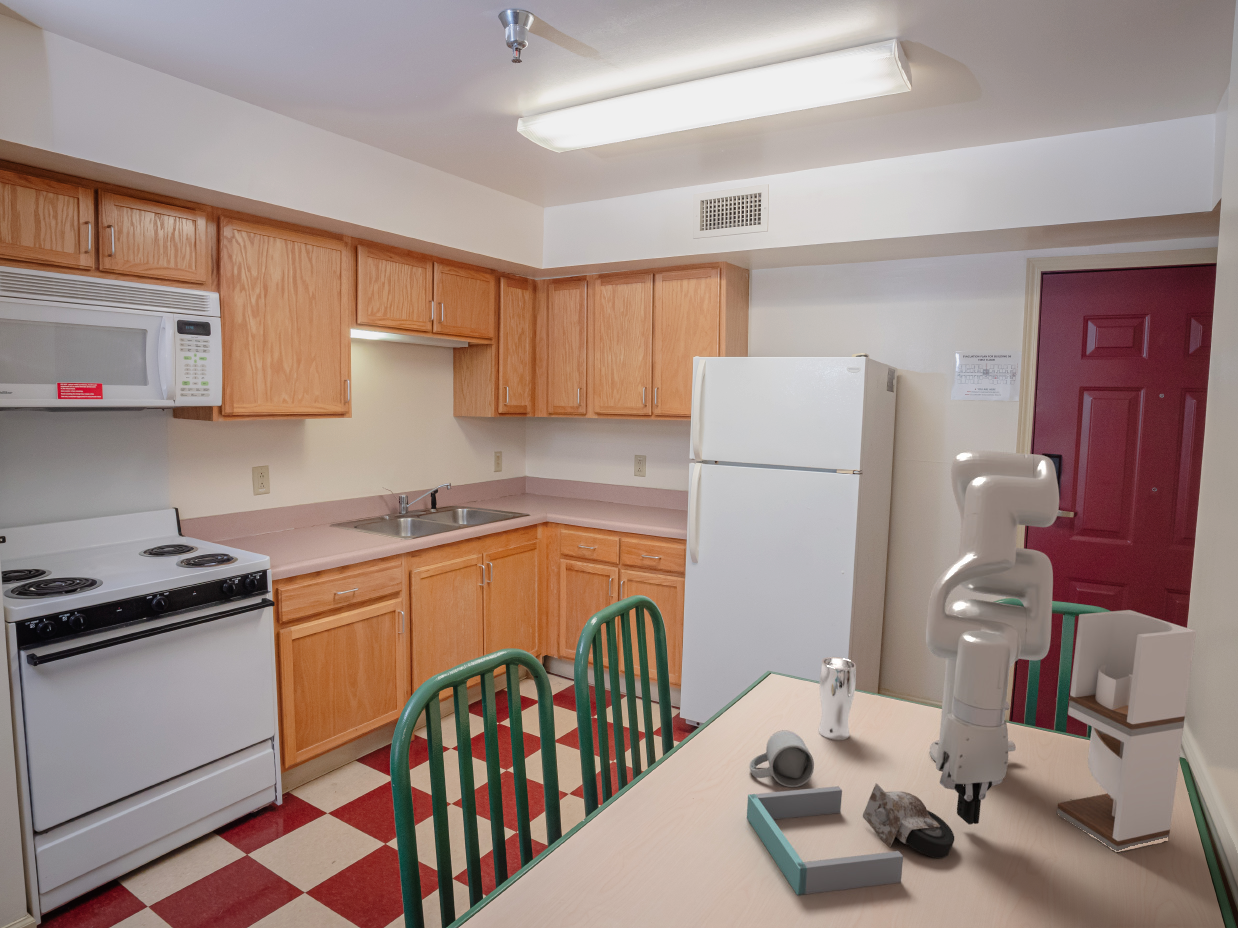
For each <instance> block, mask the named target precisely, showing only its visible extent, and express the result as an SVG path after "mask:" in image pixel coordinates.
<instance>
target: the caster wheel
mask: <svg viewBox="0 0 1238 928" xmlns="http://www.w3.org/2000/svg"><path fill="white" fill-rule="evenodd" d="M862 819H863V820H864V821H866V823H867V824H868V825H869V826H870V827H871V829H873V831H874V832H875V834H877V835H878V836H879V838H880V839H881V840H882V841H883V843H885V844H886V846H887V847H888V848H892V845H893V843H894V840H895V838H897V839H898V840H899V841H900V842H901V843H903V844H905V845H908V846H910V848H913V849H914V850H915V851H918V852H919V853H921V854H923V855H925V856H928V857H931V858H934V859H935V858H936V859H939V858H941V859H943V858H945V857H947V856H948V855H949V853H950V852H951V849H952V847H953V845H954V842H955V833H954V832H953V830H952V829H951V827H950V826H949V825H948V823H947V822H945V821H944V820H943V819H942V818H941V817H940V816H938V815H937V814H935V813H934V812H932V811H930V810H928V809H927V807H926V806H925V803H924V802H923V801H922V800H921V799H920V798H919V797H917V796H916V795H914V794H912V793H910V792H906V791H902V790H901V791H899V790H893V791H885V790H884V789H883V788H882V787H881V786H880V785H879V784H878V783H875V785H874V787H873V790H872V791H871V794H870V797H869V798H868V801H867V803H866V806H865V808H864V811H863V813H862Z"/></svg>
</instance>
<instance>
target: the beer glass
mask: <svg viewBox="0 0 1238 928" xmlns="http://www.w3.org/2000/svg"><path fill="white" fill-rule="evenodd" d="M856 667H857V664H856V663H855V662H854V661H852V660H850V659H848V658H844V657H837V656H829V657H825V658H823V659H822V661H821V667H820V668H821V669H820V675H819V696H820V697H819V698H820V706H821V707H820V708H821V717H820V721H819V722H820V723H819V726H818V733H819V734H820V735H821V736H822V737H824V738H826V739H829V740H834V741H843V740H847V739H848V738H849V737H850V728H849V717H850V711H851V708H852V705H853V700H854V697H855V691H856V679H857V677H856V676H857V675H856V674H857V672H856V670H857V669H856Z"/></svg>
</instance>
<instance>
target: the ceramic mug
mask: <svg viewBox="0 0 1238 928" xmlns="http://www.w3.org/2000/svg"><path fill="white" fill-rule="evenodd" d="M765 749H766V750H765V752H763V753H761V754H760V755H757V756H755V757H753V759H752V760H751V761H750V762H749V770H750V772H751V775H752V776H753V777H754V778H758V779H763V778H770V777H773V779H774V780H775V781H776V782H777V783H778V784H780V785H782V786H783V787H787V788H798V787H801V786H803V785H805V784H806V783H807V782H809V781H810V779H811V778H812V776H813V773H814V770H815V769H814V768H815V762H814V757H813V756H812V753H811V752H810V751H809V748H808V747H807V745H806V744H805V742H804V740H803V739H802V738H801V737H800V736H799V735H798V734H797V733H796V732H794V731H791V730H788V729H787V730H785V729H784V730H783V729H782V730H779V731H776V732H774V733H773V734H772V735H770V737H769V739H768V740H767V742H766V747H765ZM767 761H768V764H769V767H766V768H760V769H757V767H758V766H760V765H761V764H762V763H765V762H767Z"/></svg>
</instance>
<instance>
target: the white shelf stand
mask: <svg viewBox="0 0 1238 928" xmlns="http://www.w3.org/2000/svg"><path fill="white" fill-rule="evenodd" d="M1196 636H1197V630H1194V629H1190V628H1188V627H1185V626H1181V625H1178V624H1175V623H1171V622H1169V621H1165V620H1162V619H1159V618H1157V617H1156V618H1155V617H1153V616H1150V615H1146V614H1143V613H1141V612H1137V611H1136V610H1131V609H1126V610H1125V609H1123V610H1113V611H1103V612H1094V613H1093V612H1091V613H1081V614H1080V613H1079V615H1078V622H1077V629H1076V640H1075V647H1074V648H1075V649H1074V658H1073V667H1072V674H1071V682H1070V695H1069V702H1068V709H1067V710H1068V711H1067V715H1068V716H1070V717H1072V718H1074V719H1076V720H1078V721H1079V722H1082V723H1084V724H1086V725H1088V726H1091V732H1090V741H1089V749H1088V750H1089V751H1088V757H1087V766H1088V769H1089V772H1090V774H1091V776H1092V778H1093V779H1094V781H1095V782H1096V783H1097V784H1098V785H1099V787H1100V788H1101V789H1102V790H1103V791H1105V793H1103V794H1097V795H1093V796H1087V797H1082V798H1076V799H1073V800H1068V801H1062V802H1058V803H1057V806H1056V807H1057V809H1056V815H1057V814H1059V815H1060V816H1061V817H1063V818H1065V819H1066V820H1068V821H1069V822H1071V823H1073V824H1074V825H1076V826H1077V827H1079V828H1081V829H1082V830H1084V831H1086V832H1087V833H1089V834H1091V835H1093V836H1094V837H1096V838H1097V839H1099V840H1100V841H1102V842H1103V843H1105V844H1106V845H1107V846H1109V847H1111V848H1112V849H1114V850H1116V851H1119V850H1122V849H1125V848H1128V847H1130V846H1135V845H1138V844H1143V843H1148V842H1151V841H1155V840H1159V839H1163V838H1167V837H1169V838H1170V832H1171V825H1172V817H1173V811H1174V809H1173V808H1174V803H1175V795H1176V788H1177V787H1176V786H1177V781H1178V780H1177V779H1178V778H1177V777H1178V772H1179V764H1180V759H1181V758H1180V757H1181V749H1182V742H1183V735H1184V728H1185V727H1184V726H1185V718H1186V711H1187V705H1188V695H1189V690H1190V689H1189V688H1190V682H1191V681H1190V680H1191V675H1192V673H1191V672H1192V667H1193V659H1194V652H1195V645H1196ZM1060 816H1059V817H1060ZM1061 817H1060V818H1061ZM1063 818H1062V819H1063ZM1066 820H1065V821H1066ZM1069 822H1068V823H1069ZM1071 823H1070V824H1071ZM1074 825H1073V826H1074ZM1077 827H1076V828H1077Z"/></svg>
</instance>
